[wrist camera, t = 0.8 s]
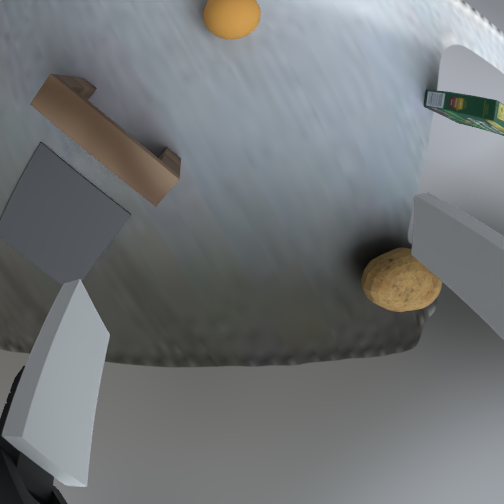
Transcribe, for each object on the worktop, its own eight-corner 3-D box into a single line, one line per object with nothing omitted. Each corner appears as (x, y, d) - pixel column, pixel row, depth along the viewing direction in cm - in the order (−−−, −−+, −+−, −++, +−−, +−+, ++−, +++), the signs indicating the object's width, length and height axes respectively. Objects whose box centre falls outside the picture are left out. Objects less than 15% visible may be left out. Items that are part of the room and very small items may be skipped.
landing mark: (-5, 232, 31) (-6, 232, 30) (41, 142, 28) (40, 142, 28) (74, 292, 37) (73, 293, 37) (131, 214, 34) (130, 215, 34)
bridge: (162, 179, 33) (155, 206, 25) (67, 100, 27) (30, 104, 19) (180, 158, 33) (179, 179, 25) (84, 78, 26) (50, 73, 18)
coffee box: (420, 107, 34) (495, 123, 23) (424, 87, 33) (498, 98, 22) (457, 124, 36) (525, 144, 25) (460, 106, 35) (529, 123, 24)
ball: (190, 21, 26) (191, 7, 21) (228, -10, 25) (236, -28, 20) (227, 53, 28) (235, 44, 23) (264, 21, 27) (278, 9, 22)
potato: (362, 227, 41) (395, 255, 34) (427, 246, 45) (459, 270, 38) (336, 288, 45) (361, 322, 38) (402, 296, 49) (428, 325, 42)
